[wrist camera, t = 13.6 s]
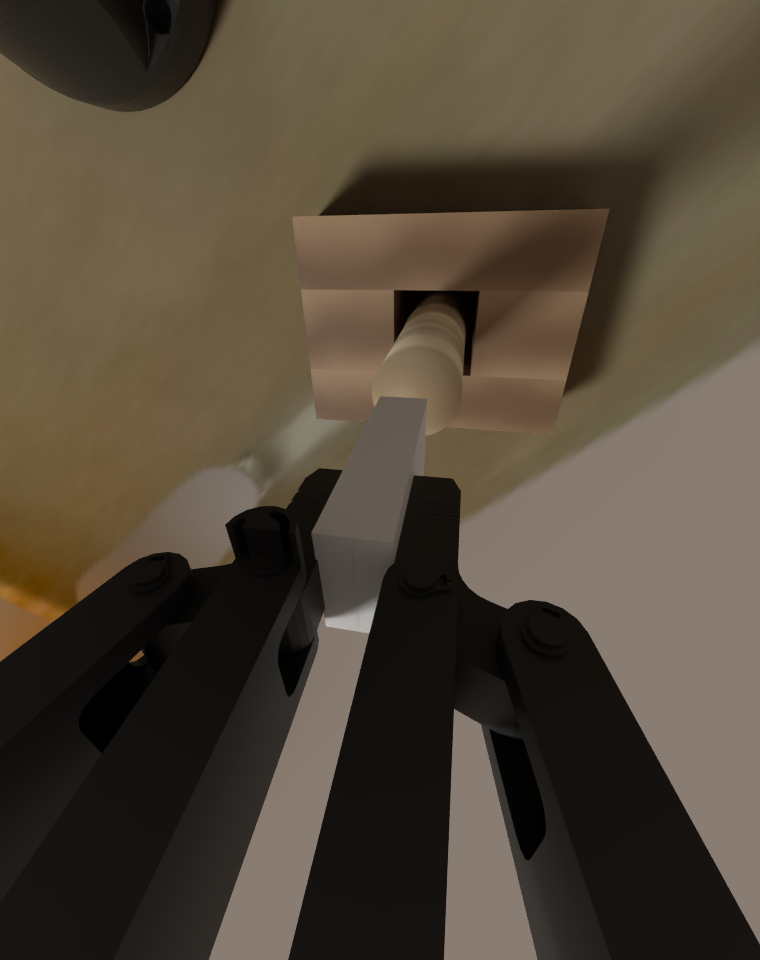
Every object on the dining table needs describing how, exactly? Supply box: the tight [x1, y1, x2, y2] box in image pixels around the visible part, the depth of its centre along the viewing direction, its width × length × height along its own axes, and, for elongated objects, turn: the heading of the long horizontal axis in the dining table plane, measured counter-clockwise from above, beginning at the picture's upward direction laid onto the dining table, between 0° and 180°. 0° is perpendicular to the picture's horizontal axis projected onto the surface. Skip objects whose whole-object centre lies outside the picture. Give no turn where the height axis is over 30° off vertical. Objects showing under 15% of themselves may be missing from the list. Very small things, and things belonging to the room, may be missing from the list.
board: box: [292, 209, 610, 434], centre depth 25 cm, size 12×16×4 cm
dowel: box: [372, 291, 466, 436], centre depth 21 cm, size 4×4×14 cm
